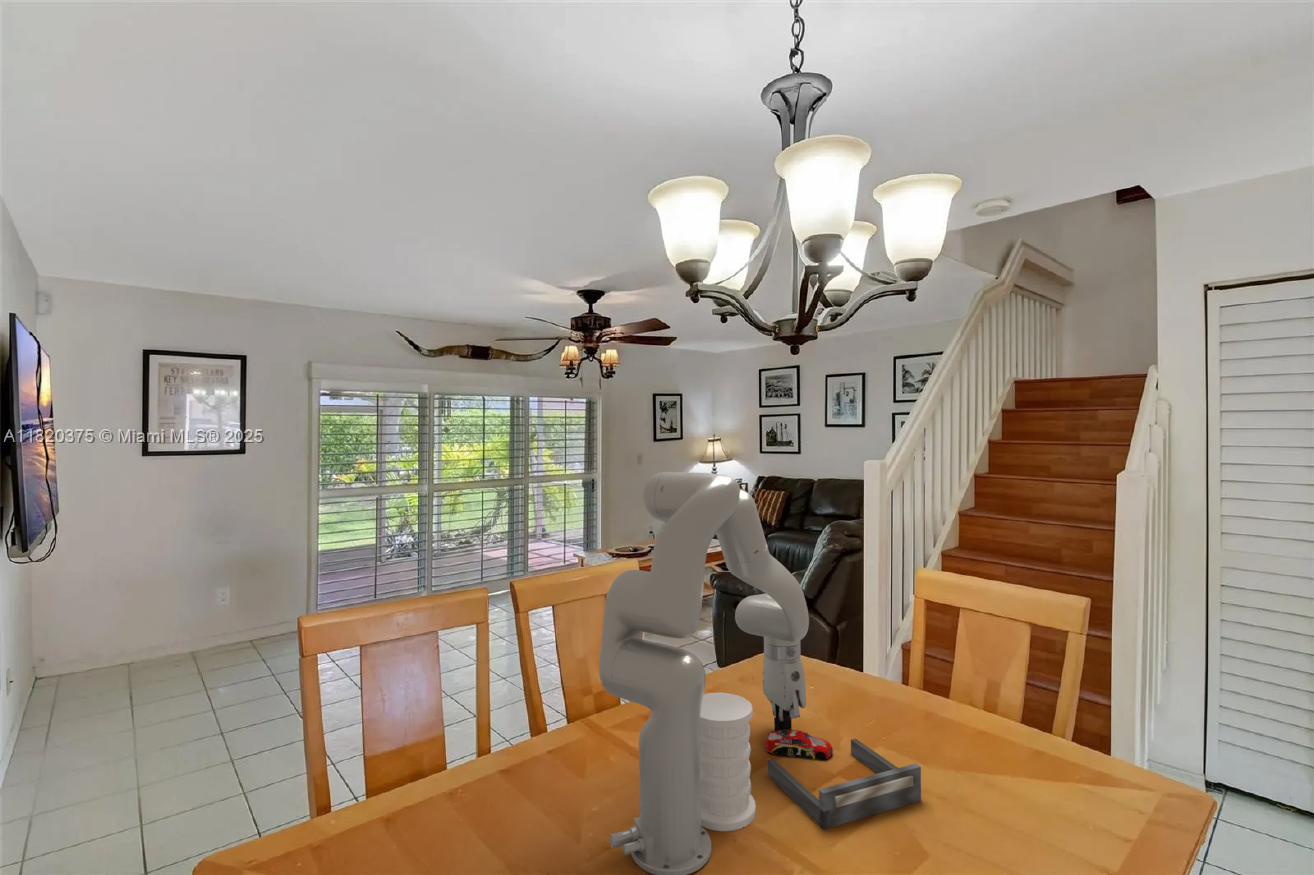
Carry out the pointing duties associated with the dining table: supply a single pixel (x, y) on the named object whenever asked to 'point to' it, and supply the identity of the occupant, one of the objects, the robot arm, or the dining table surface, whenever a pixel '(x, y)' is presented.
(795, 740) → the race car
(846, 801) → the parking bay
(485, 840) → the dining table surface
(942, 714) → the dining table surface
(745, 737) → the decorative container
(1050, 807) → the dining table surface
